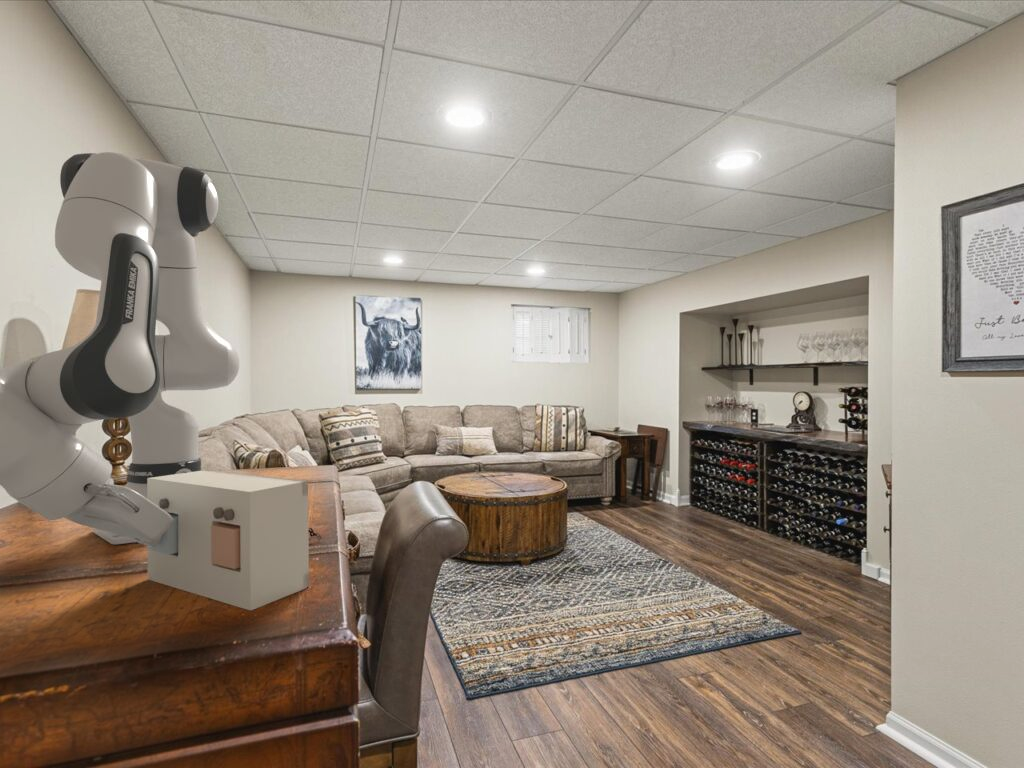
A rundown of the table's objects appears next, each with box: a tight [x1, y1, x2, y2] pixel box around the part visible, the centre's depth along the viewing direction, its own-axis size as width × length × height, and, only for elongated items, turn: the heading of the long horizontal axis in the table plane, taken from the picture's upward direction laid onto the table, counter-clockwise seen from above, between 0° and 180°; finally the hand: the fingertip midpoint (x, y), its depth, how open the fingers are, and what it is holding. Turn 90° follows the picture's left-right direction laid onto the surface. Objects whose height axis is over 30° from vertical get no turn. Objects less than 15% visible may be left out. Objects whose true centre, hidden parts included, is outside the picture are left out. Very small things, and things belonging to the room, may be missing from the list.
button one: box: [149, 512, 223, 555], centre depth 79 cm, size 5×8×5 cm, turn 151°
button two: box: [211, 523, 241, 569], centre depth 73 cm, size 5×8×5 cm, turn 151°
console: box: [147, 469, 310, 611], centre depth 77 cm, size 24×10×15 cm, turn 61°
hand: (153, 541), depth 75 cm, fingers closed, pressing on button one
